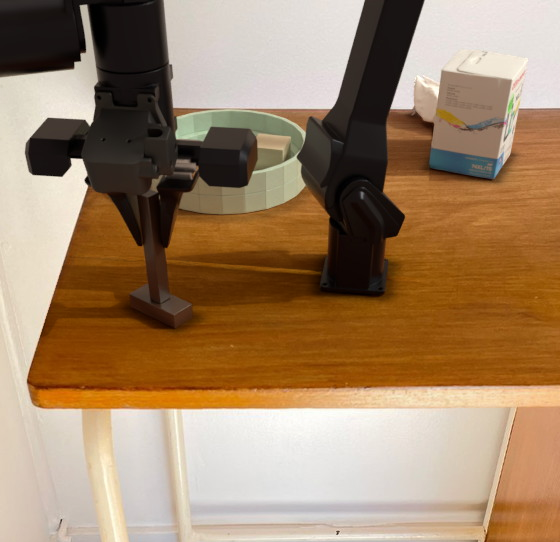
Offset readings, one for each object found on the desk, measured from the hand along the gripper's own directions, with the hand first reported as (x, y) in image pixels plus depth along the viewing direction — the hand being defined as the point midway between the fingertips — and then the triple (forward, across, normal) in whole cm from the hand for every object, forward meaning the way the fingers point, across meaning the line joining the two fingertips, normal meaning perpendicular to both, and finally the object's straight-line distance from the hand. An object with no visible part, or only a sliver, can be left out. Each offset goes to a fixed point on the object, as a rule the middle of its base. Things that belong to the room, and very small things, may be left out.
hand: (153, 245), depth 77 cm
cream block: (+6, +6, +30) cm, 32 cm away
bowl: (+7, +1, +29) cm, 30 cm away
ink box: (+7, +30, +39) cm, 50 cm away
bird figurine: (+7, +26, +50) cm, 57 cm away
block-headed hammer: (+7, 0, 0) cm, 7 cm away
